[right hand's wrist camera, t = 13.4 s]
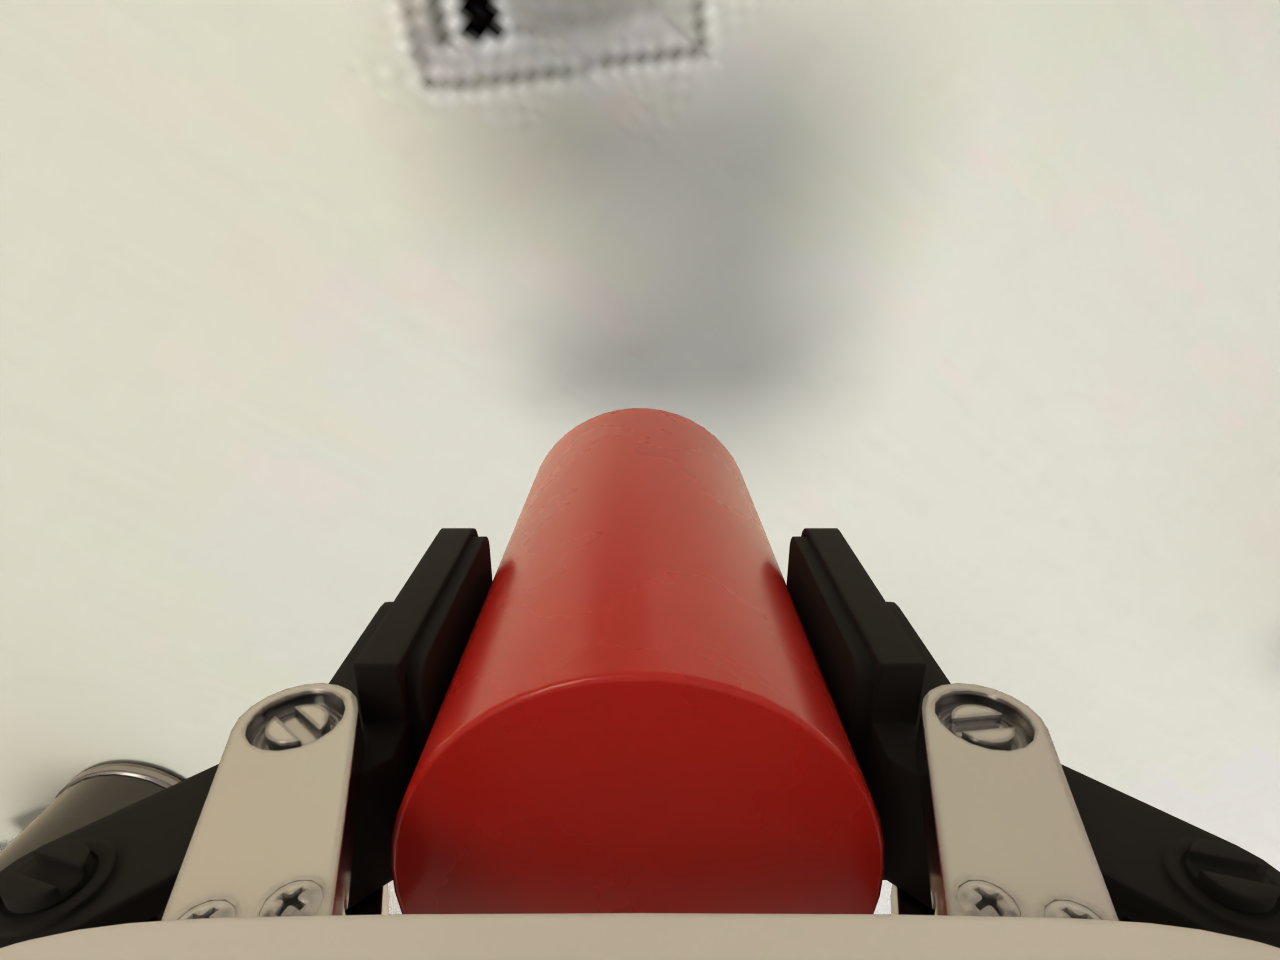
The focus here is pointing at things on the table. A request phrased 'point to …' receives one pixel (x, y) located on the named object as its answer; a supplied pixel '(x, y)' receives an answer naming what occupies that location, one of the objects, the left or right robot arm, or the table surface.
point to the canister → (638, 709)
